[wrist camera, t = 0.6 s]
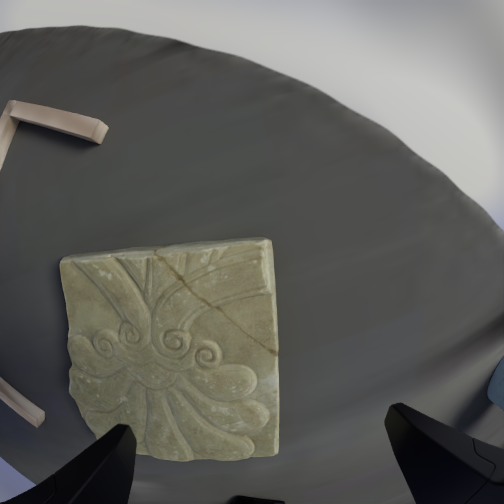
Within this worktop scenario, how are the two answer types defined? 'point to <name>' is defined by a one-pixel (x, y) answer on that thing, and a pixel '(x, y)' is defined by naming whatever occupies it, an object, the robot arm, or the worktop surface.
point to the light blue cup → (497, 386)
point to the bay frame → (3, 133)
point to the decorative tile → (177, 346)
